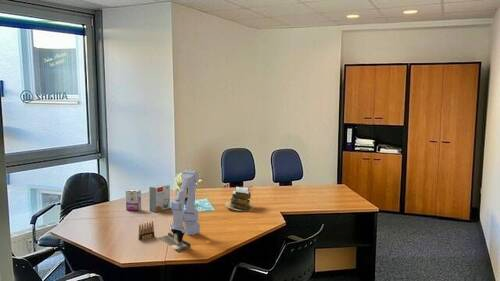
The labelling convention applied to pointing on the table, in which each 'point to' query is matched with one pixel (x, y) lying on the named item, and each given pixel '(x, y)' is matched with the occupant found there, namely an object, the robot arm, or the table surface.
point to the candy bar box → (133, 200)
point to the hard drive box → (159, 197)
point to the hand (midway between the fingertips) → (178, 240)
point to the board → (170, 240)
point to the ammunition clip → (146, 231)
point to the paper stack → (240, 200)
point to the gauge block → (177, 239)
